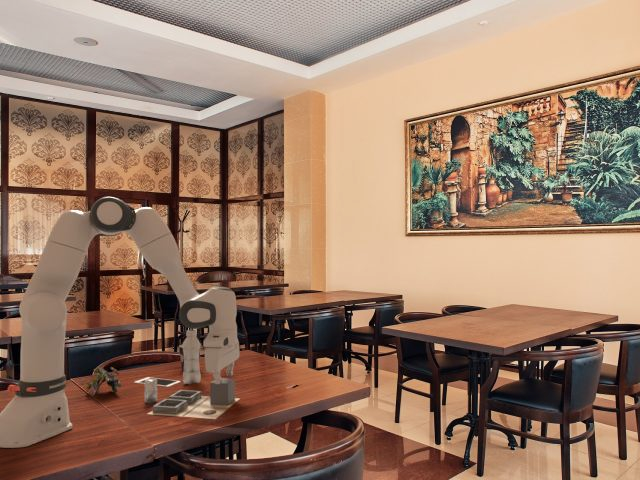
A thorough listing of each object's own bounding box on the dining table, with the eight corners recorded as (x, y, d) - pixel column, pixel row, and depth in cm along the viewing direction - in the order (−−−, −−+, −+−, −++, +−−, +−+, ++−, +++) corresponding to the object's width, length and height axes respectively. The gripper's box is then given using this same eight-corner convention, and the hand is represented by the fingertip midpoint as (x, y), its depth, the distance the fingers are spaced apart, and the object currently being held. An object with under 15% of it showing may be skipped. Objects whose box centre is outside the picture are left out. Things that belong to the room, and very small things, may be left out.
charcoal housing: (228, 405, 160) (228, 383, 160) (210, 404, 161) (210, 382, 161) (235, 400, 166) (235, 378, 166) (217, 399, 167) (217, 377, 167)
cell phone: (147, 378, 200) (147, 377, 200) (181, 382, 194) (181, 381, 194) (133, 383, 193) (133, 382, 193) (168, 388, 187) (168, 386, 187)
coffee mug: (178, 367, 216) (178, 344, 216) (199, 366, 218) (199, 343, 218) (179, 374, 205) (179, 349, 205) (201, 373, 207) (201, 348, 207)
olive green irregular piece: (113, 407, 181) (130, 381, 179) (85, 409, 172) (103, 382, 170) (101, 384, 187) (117, 359, 185) (73, 386, 178) (89, 359, 176)
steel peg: (153, 403, 168) (153, 382, 168) (142, 402, 168) (142, 381, 169) (159, 399, 172) (159, 379, 172) (148, 399, 172) (148, 378, 172)
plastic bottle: (196, 386, 187) (196, 332, 187) (179, 385, 188) (179, 331, 188) (203, 382, 193) (203, 329, 193) (187, 381, 195) (187, 329, 195)
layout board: (215, 424, 148) (215, 405, 148) (147, 418, 153) (147, 400, 153) (240, 403, 168) (240, 386, 168) (178, 399, 172) (178, 382, 172)
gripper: (226, 330, 175) (226, 370, 175) (200, 342, 155) (201, 388, 155) (243, 331, 174) (244, 371, 174) (220, 343, 154) (221, 388, 154)
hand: (223, 379), depth 164 cm, fingers open, 8 cm apart
